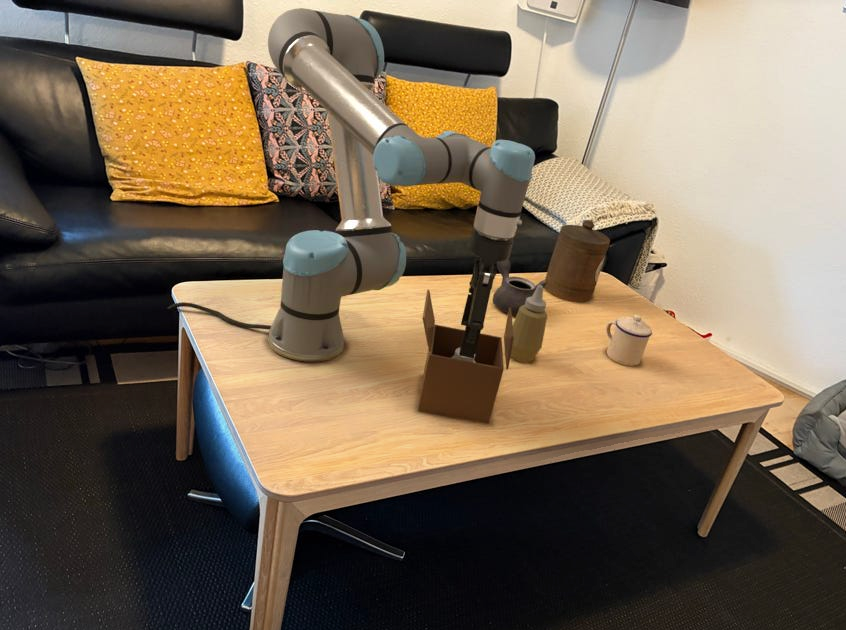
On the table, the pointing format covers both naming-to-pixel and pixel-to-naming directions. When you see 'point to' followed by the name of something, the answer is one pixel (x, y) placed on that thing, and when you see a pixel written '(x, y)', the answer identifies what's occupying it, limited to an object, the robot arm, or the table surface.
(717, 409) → the table surface
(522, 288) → the teapot
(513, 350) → the squeeze bottle
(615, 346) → the teacup with lid
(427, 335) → the flap
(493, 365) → the carton
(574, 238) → the wooden container
